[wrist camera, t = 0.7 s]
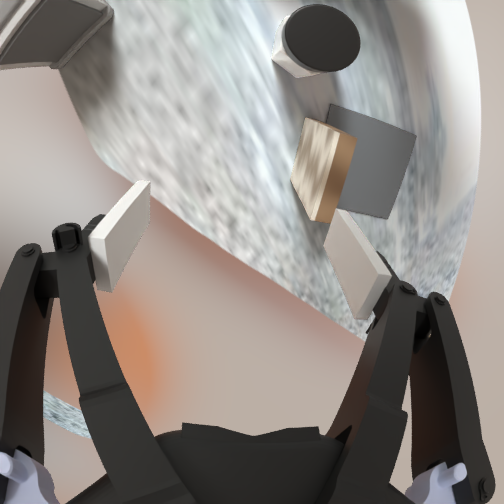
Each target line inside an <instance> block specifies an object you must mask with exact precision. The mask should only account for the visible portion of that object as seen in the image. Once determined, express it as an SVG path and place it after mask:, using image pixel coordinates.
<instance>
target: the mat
mask: <svg viewBox="0 0 504 504" xmlns="http://www.w3.org/2000/svg"><path fill="white" fill-rule="evenodd" d="M326 124H328V125H331V126H333V127H335V128H337V129H339V130H341V131H343V132H346V133H348V134H350V135H352V136H354V137H356V138H358V139H357V142H356V146H355V149H354V153H353V156H352V160H351V163H350V166H349V170H348V173H347V176H346V180H345V183H344V186H343V189H342V192H341V195H340V198H339V202H338V205H337V208H341V209H345V210H350V211H355V212H359V213H364V214H368V215H372V216H377V217H381V218H385V219H388V217H389V215H390V212H391V210H392V207H393V205H394V202H395V199H396V197H397V194H398V191H399V189H400V186H401V183H402V180H403V177H404V175H405V172H406V169H407V166H408V163H409V159H410V156H411V153H412V150H413V147H414V143H415V140H416V137H417V136H416V135H414V134H411V133H409V132H407V131H404V130H402V129H400V128H397V127H395V126H392V125H390V124H387V123H385V122H382V121H379V120H377V119H374V118H371V117H369V116H366V115H363V114H360V113H357V112H354V111H351V110H348V109H345V108H342V107H339V106H335V105H332V104H331V105H330V109H329V113H328V117H327V121H326Z"/></svg>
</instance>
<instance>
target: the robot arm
mask: <svg viewBox="0 0 504 504" xmlns="http://www.w3.org/2000/svg"><path fill="white" fill-rule="evenodd" d="M149 223H150V181H142V180H138V181H137V182H136V183H135V184H134V185H133V186H132V187H131V188H130V190H129V191H128V192H127V193H126V194H125V195H124V196H123V197H122V198H121V199H120V200H119V201H118V202H117V204H116V205H115V206H114V207H113V208H112V209H111V210H110V211H109V213H108V214H107V215H102V214H100V215H98V216H96V217H94V218H93V219H92V220H91V221H90V222H89V223H88V225H87V226H86V227H85V228H84V229H83V230H82V231H81V227H80V225H78V224H76V223H65V224H62V225H60V226H58V227H56V228H55V229H54V230H53V232H52V237H53V242H54V247H55V252H49V253H42V250H41V247H40V245H38V244H35V243H31V244H26V245H24V246H22V247H21V248H20V249H19V250H18V251H17V252H16V254H15V256H14V258H13V261H12V263H11V265H10V267H9V270H8V272H7V274H6V277H5V279H4V282H3V284H2V287H1V289H0V504H60V503H59V502H58V500H57V499H56V496H55V494H54V483H53V480H52V478H51V475H50V473H49V472H48V470H47V469H46V468H45V467H44V426H43V386H44V368H45V356H46V347H47V338H48V331H49V324H50V318H51V312H52V306H53V301H54V298H57V297H58V298H60V305H61V312H62V318H63V324H64V330H65V335H66V340H67V345H68V350H69V354H70V358H71V362H72V367H73V370H74V374H75V377H76V381H77V385H78V388H79V392H80V398H79V403H80V407H81V410H82V413H83V416H84V419H85V422H86V424H87V427H88V430H89V433H90V435H91V438H92V440H93V443H94V445H95V447H96V450H97V452H98V454H99V457H100V459H101V461H102V463H103V465H104V468H105V470H106V472H107V473H106V474H105V475H104V476H103V477H101V478H100V479H99V480H97V481H96V482H95V483H93V484H92V485H91V486H89V487H88V488H87V489H85V490H84V491H83V492H81V493H80V494H78V495H77V496H76V497H74V498H73V499H71V500H70V501H68V502H67V503H66V504H485V503H487V502H489V500H490V499H491V498H492V496H493V494H494V491H495V478H494V475H493V471H492V468H491V464H490V461H489V458H488V455H487V452H486V449H485V446H484V443H483V440H482V434H481V426H480V419H479V413H478V406H477V401H476V396H475V391H474V386H473V381H472V377H471V373H470V369H469V365H468V361H467V357H466V353H465V350H464V346H463V343H462V340H461V336H460V334H459V330H458V327H457V324H456V321H455V318H454V315H453V312H452V310H451V307H450V304H449V302H448V300H447V299H446V298H445V297H444V296H442V294H439V293H437V292H431V293H430V294H429V296H428V298H427V299H426V298H423V297H420V296H418V294H417V291H416V289H415V288H414V287H413V286H412V285H410V284H409V283H407V282H405V281H400V280H399V278H398V277H397V275H396V274H395V272H394V271H393V269H392V268H391V266H390V265H389V264H388V262H387V261H386V259H385V258H384V256H382V255H381V254H380V253H379V252H378V251H375V249H374V248H373V246H372V245H371V243H370V242H369V241H368V239H367V238H366V236H365V235H364V234H363V232H362V231H361V229H360V228H359V227H358V225H357V224H356V222H355V221H354V220H353V218H352V217H351V216H350V214H349V213H348V212H347V211H346V210H341V209H336V210H335V213H334V216H333V219H332V222H331V225H330V228H329V231H328V233H327V236H326V239H325V242H324V245H323V247H324V249H325V251H326V253H327V255H328V258H329V260H330V262H331V264H332V267H333V269H334V271H335V274H336V276H337V278H338V280H339V283H340V285H341V288H342V290H343V292H344V295H345V297H346V299H347V302H348V304H349V307H350V309H351V312H352V314H353V317H354V319H362V320H368V318H369V316H370V315H371V313H372V311H373V312H374V314H375V316H376V317H375V319H374V320H373V322H372V323H371V325H370V327H369V328H368V330H367V331H366V334H368V336H367V339H366V342H365V345H364V348H363V351H362V354H361V357H360V359H359V362H358V365H357V367H356V370H355V372H354V375H353V377H352V380H351V382H350V385H349V387H348V390H347V392H346V394H345V397H344V399H343V402H342V404H341V406H340V408H339V410H338V413H337V415H336V417H335V419H334V421H333V423H332V426H331V427H330V429H329V431H328V432H327V434H326V435H321V434H320V433H319V428H318V427H302V428H286V429H282V430H279V431H274V432H270V433H266V434H262V435H258V436H250V435H246V434H243V433H239V432H235V431H232V430H228V429H225V428H221V427H218V426H209V425H199V424H190V423H182V430H177V431H171V432H167V433H163V434H160V435H158V436H155V437H154V435H153V434H152V432H151V430H150V428H149V426H148V424H147V422H146V420H145V419H144V417H143V415H142V412H141V411H140V408H139V406H138V404H137V402H136V400H135V398H134V396H133V394H132V391H131V389H130V387H129V385H128V383H127V382H126V380H125V378H124V375H123V373H122V370H121V368H120V366H119V363H118V360H117V358H116V356H115V352H114V350H113V347H112V345H111V342H110V339H109V336H108V333H107V330H106V327H105V324H104V321H103V318H102V315H101V312H100V308H99V305H98V302H97V298H96V295H95V291H94V287H93V283H94V281H96V285H97V290H101V291H106V292H113V290H114V287H115V286H116V284H117V282H118V280H119V278H120V276H121V274H122V272H123V270H124V267H125V266H126V264H127V262H128V260H129V259H130V257H131V255H132V253H133V251H134V249H135V248H136V246H137V244H138V242H139V240H140V239H141V237H142V235H143V233H144V232H145V230H146V228H147V226H148V224H149ZM368 332H369V333H368ZM430 334H431V335H430ZM429 335H430V337H429ZM408 374H410V388H411V409H412V451H411V467H412V478H413V483H412V486H411V487H409V488H408V489H407V490H406V492H405V495H404V494H402V493H401V492H400V491H399V490H397V489H396V488H395V487H394V486H393V485H391V484H390V483H389V481H390V478H391V475H392V472H393V469H394V466H395V463H396V460H397V457H398V453H399V450H400V447H401V443H402V439H403V436H404V431H405V427H406V423H407V418H408V414H407V412H405V411H403V410H402V404H403V399H404V395H405V390H406V385H407V380H408Z"/></svg>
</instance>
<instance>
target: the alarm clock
mask: <svg viewBox="0 0 504 504" xmlns="http://www.w3.org/2000/svg"><path fill="white" fill-rule="evenodd" d="M113 14H114V10H113V9H112V7H111V6H110V5H109V4H108V3H107V2H106V1H105V0H0V70H5V69H14V68H25V67H41V66H49V67H50V68H51V69H60V68H62V67H64V65H65V64H66V63H67V62H68V61H69V60H70V59H71V57H72V56H73V55H74V54H75V53H76V52H77V51H78V50H79V49H80V48H81V47H82V46H83V45H84V43H85V42H86V41H87V40H88V39H89V38H90V37H91V36H92V35H93V34H95V33H96V32H97V31H98V30H99V29H100V28H101V27H102V26H103V25H104V24H105V23H106V22H107V21H108V20H110V19H111V18H112V16H113Z"/></svg>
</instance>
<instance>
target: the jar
mask: <svg viewBox="0 0 504 504" xmlns="http://www.w3.org/2000/svg"><path fill="white" fill-rule="evenodd" d="M359 51H360V36H359V33H358V30H357V28H356V26H355V25H354V23H353V22H352V21H351V19H350V18H349V17H348V16H347V15H345V14H344V13H343V12H341V11H339V10H338V9H336V8H333V7H330V6H327V5H321V4H313V5H307V6H304V7H301V8H299V9H298V10H296V11H295V12H294V13H292V15H288V16H285V18H284V19H283V21H282V22H281V24H280V26H279V27H278V29H277V30H276V32H275V38H274V44H273V50H272V57H271V59H272V60H273V61H274V62H276V63H277V64H278V65H280V66H281V67H282V68H284V69H285V70H286V71H288V72H289V73H290V74H292V75H293V76H294V77H295V78H301V77H307V76H313V75H316V74H320V73H327V72H334V71H335V72H336V71H339V70H342V69H344V68H346V67H348V66H349V65H350V64H352V63H353V62H354V60H355V59H356V58H357V56H358V54H359Z"/></svg>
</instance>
